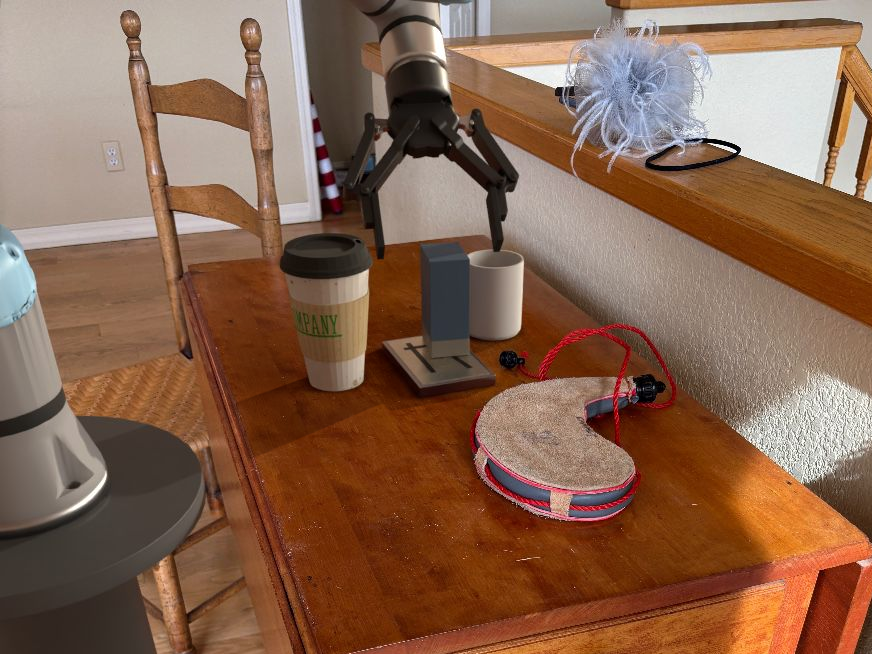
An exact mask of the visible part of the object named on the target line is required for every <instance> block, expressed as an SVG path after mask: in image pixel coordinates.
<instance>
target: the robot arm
mask: <svg viewBox="0 0 872 654" xmlns="http://www.w3.org/2000/svg"><path fill="white" fill-rule="evenodd" d="M346 1H347V2H348V3H349V4H351V5H352V6H353V7H355V8H356V9H357V11H359V12H360V13H362V14H363V15H364V16H366V18H368V19H369V20H371V21H372V22H373V23H374V24H375V26H376V30H377V37H378V43H379V50H380V56H381V64H382V65H381V66H382V72H383V73H382V74H383V80H384V89H385V95H386V103H387V110H388V117H387V118H376V117H375V115H374V113H372V112H366V113H365V114H364V116H363V133H362V136H361V138H360V140H359V143H358V146H357V148H356V151H355V153H354V156H353V158H352V160H351V163H350V166H349V168H348V170H347V173H346V176H345V178H344V180H343V188H342V189H343V190H342V191H343V192H342V193H343V194H342V195H343V196H342V197H343V199H344V200H345V201H347V202H351V201H355V202H357V203H358V204H359V207H360V211H361V218H362V219H361V220H362V226H363V227H364V229H365V230H372V231H373V238H374V245H375V253H376V260H385V252H386V244H385V243H386V242H385V236H384V235H385V234H384V229H383V220H382V214H381V205H380V199H379V191H380V189H382V187H383V185H384V184H385V183H386V181H387V180H388V179H389V177H390V176H391V175H392V174H393V172H394V171H395V169H396V168H397V167H398V165H401V164H402V162H403V161H404V159H405V158H406V156H410V157H412V159H414V160H415V159H422V158H425V157H427V158H435V159H436V158H440V156H441V155H443V156H444V157H445V158H446V159H447V160H448V161H450V162H451V163H453V162H454V163H455V164H456V165H457V166H458V167H459V168H461V169H462V170H463V171H464V172H465V173H466V174H467V175H468V176H469V177H470V178H471V179H472V180H474V181H475V182H476V183H477V184H478V185H479V186H480V187H481V188H482V189H484V190H485V192H487V194H486V198H485V204H486V211H487V218H488V226H489V232H490V239H491V246H492V250H493V252H500V250H502V247H503V244H504V241H505V238H504V232H503V231H504V230H503V224H502V222H505V221H506V219H507V215H508V212H509V209H508V201H507V195H506V194H507V193H513V192H515V190H516V187H517V184H518V181H519V179H520V174H519V172H518V171H517V169H516V168H515V167H514V165H513V163H512V162H511V160H510V159H509V158H508V157H507V155H506V154H505V151H503V149H502V148H501V146H500V145H499V143H498V142H497V140H496V139H495V138H494V136H493V135H492V134H491V132H490V131H489V129H488V128H487V127H486V124H485V120H484V116H483V113H482V111H481V110H480V108H473V109H472V110H471V112H470V114H463V115H458V114H457V113H456V112H455V109H454V104H453V98H452V97H453V96H452V89H451V83H450V77H449V74H448V73H449V72H448V71H449V70H448V63H447V57H446V50H445V43H444V37H443V32H442V26H441V17H440V9H439V5H440V4H441V6H450V5H466V4H469V3H472V2H474V1H475V0H346ZM1 6H2V0H0V7H1ZM459 130H462V131H463V132H464V133H465V134H466V137H468V138H471V140H472V143H473V145H474V146H475V148H476V149H477V151H478V153H480V155H481V156H482V157H481V156H480V155H478V154H477V153H476V152H475V151H474V150H473V149H472V148H471V147H470V146H469V145H467V143H466V142H464V139H463V137H462V136H461V135H460V134H459V133H458V131H459ZM384 133H386V134H387V135H388V136H389V137H390V138H391V139H392V141H391V143H390V146H389V147H388V149H387V150H386V151H385V153H383V156H381V158H380V159H379V161H378V162H377V163H376V165H375V166H374V167H373V169H372V171H370V173H369V174H368V176H367V177H366V178H365V180H364V181H363V182H362V184H360V183H361V180H362V178H363V175H364V172H365V170H366V167H367V165H368V163H369V160H370V157H371V155H372V152H373V150H374V146H375V142H378V141H379V140H380V139H381V138H382V135H383V134H384ZM76 416H77V415H76V414H75V413H74V412H73V410H72V408H71V407H70V405H69V404H68V400H67V397H66V393H65V390H64V387H63V382H62V378H61V375H60V371H59V368H58V363H57V360H56V356H55V353H54V349H53V345H52V341H51V337H50V334H49V331H48V327H47V323H46V319H45V315H44V312H43V307H42V305H41V301H40V296H39V293H38V287H37V281H36V276H35V273H34V271H33V269H32V267H31V266H30V263H29V261H28V259H27V257H26V253H25V251H24V248H23V246H22V243H21V242H20V240H19V238H17V236H16V235H15V233H13V232H12V231H11V230H10V228H7V227H6V226H4V225H3V224H1V223H0V540H9V539H17V538H23V537H28V536H33V535H37V534H40V533H44V532H47V531H50V530H53V529H56V528H59V527H61V526H64V525H66V524H68V523H70V522H72V521H74V520H76V519H78V518H80V517H81V516H83V515H85V514H86V513H88V512H89V511H90V510H92V509H93V508H94V507H95V506H96V505H98V504H99V503H100V502H101V500H102V499H103V498H104V497H105V495H106V493H107V492H108V489H109V486H110V478H109V474H108V470H107V466H106V463H105V460H104V458H103V457H102V454H101V452H100V451H99V449H98V448H97V447H96V445H95V444H94V442H93V441H92V439H91V438H90V436H89V435H88V433H87V432H86V431H85V429H84V428H83V426H82V425H81V423H80V422H79V420H78V419H77V417H76Z"/></svg>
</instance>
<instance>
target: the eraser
mask: <svg viewBox="0 0 872 654" xmlns="http://www.w3.org/2000/svg"><path fill="white" fill-rule="evenodd" d="M467 255H468V254H467V252H466V251H465V250H464V248H463V246H462V244H461V243H460V242H459V241H449V242H447V241H445V242H431V243H419V257H420V260H419V261H420V262H419V263H420V266H419V267H420V297H421V298H420V300H421V301H420V302H421V303H420V304H421V305H420V306H421V336H422V337H423V339H424V342H425V344H426V346H427V349H428V351H429V353H430V356H431V358H438V357H450V356H462V355H469V349H470V335H469V330H470V259H469V257H468V256H467Z"/></svg>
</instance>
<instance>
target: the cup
mask: <svg viewBox="0 0 872 654" xmlns="http://www.w3.org/2000/svg"><path fill="white" fill-rule="evenodd" d="M467 256H468V257H469V259H470V330H469V337H471V338H475V339H477V340H478V339H479V340H483V341H503V340H508V339H511V338H513V337H515V336H517V335H518V333H519V332H520V331H521V329H522V314H523V293H524V292H523V290H524V289H523V288H524V268H525V267H524V265H525V262H524V261H525V259H524V258H525V257H524V256H523V255H522V254H520V253H519V252H515V251H512V250H506V249H501V250H500V252H493V249H481V250H476V251H473V252H470V253H468V254H467Z"/></svg>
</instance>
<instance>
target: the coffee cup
mask: <svg viewBox="0 0 872 654" xmlns="http://www.w3.org/2000/svg"><path fill="white" fill-rule="evenodd" d="M373 264H374V261H373V256H372V254H371V252H370V251H369V250H368V247H367V244H366V242H365V240H364V239H362V238H361V237H358V236H356V235H353V234H348V233H340V232H339V233H337V232H322V233H313V234H306V235H301V236H298V237H295V238H292V239H290V240H288V241H287V242H286V243H285V244H284V247H283V253H282V255H281V256H280V259H279V269H280V271H282V273H284V275H285V279H286V283H287V288H288V292H287V295H288V299H289V300H288V301H289V303H290V308H291V312H292V317H293V321H294V325H295V326H294V327H295V329H296V334H297V338H298V342H299V343H298V344H299V347H300V351H301V355H303V359H304V363H305V368H306V372H307V377H308V381H309V384H310V386H311V387H313V388H315V389H317V390H319V391H320V390H321V391H325V392H343V391H347V390H348V391H349V390H352V389H355V388H356V387H358V386H360V385H361V384H362V383H363V382H364V379H365V376H364V375H365V357H366V351H367V343H368V342H367V341H368V324H369V308H370V307H369V303H370V287H369V272H370V268H371V267H372V266H373Z"/></svg>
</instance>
